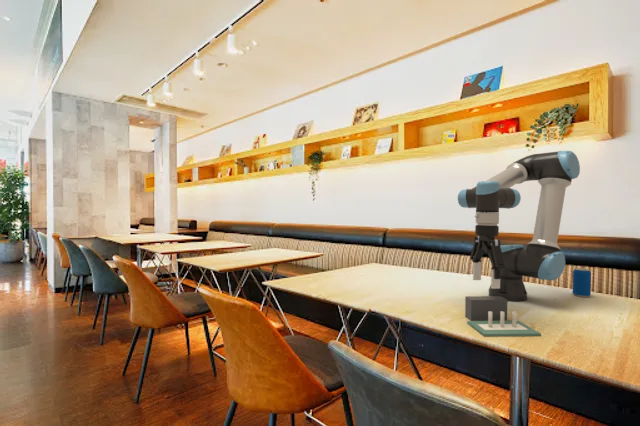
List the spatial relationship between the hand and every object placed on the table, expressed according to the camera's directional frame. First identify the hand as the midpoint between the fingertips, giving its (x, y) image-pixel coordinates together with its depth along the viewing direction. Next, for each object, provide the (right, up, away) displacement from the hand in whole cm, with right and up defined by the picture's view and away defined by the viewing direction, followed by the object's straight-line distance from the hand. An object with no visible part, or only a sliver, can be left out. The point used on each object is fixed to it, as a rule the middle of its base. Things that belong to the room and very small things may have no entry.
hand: (485, 284), depth 126 cm
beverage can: (+58, -12, +32) cm, 67 cm away
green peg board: (+1, -13, -10) cm, 17 cm away
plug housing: (0, -13, +1) cm, 13 cm away
